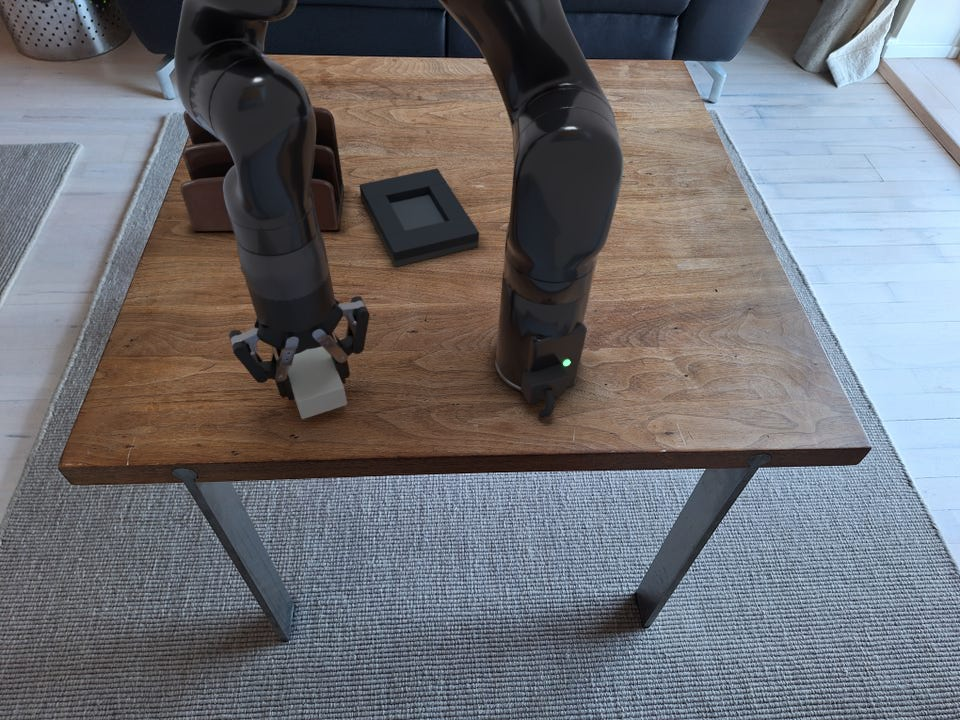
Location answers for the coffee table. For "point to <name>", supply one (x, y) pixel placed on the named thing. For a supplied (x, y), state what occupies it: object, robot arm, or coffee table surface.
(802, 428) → the coffee table surface
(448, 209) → the back pad
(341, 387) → the loose pad
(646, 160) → the coffee table surface
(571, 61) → the robot arm
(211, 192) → the letter holder
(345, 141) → the coffee table surface
